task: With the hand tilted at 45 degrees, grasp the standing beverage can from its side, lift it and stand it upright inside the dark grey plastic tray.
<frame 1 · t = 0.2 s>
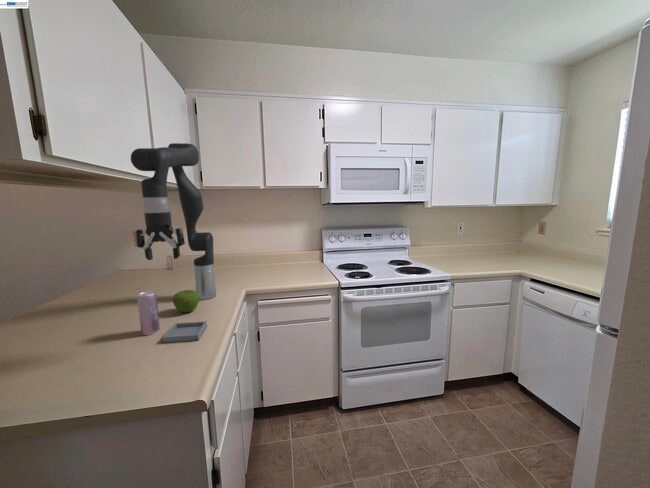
hand: (163, 259, 95), 29 cm above the counter, tool pointing down, fingers open, 8 cm apart
apple: (187, 312, 124), on the counter
tray: (186, 334, 103), on the counter
beverage can: (150, 332, 105), on the counter
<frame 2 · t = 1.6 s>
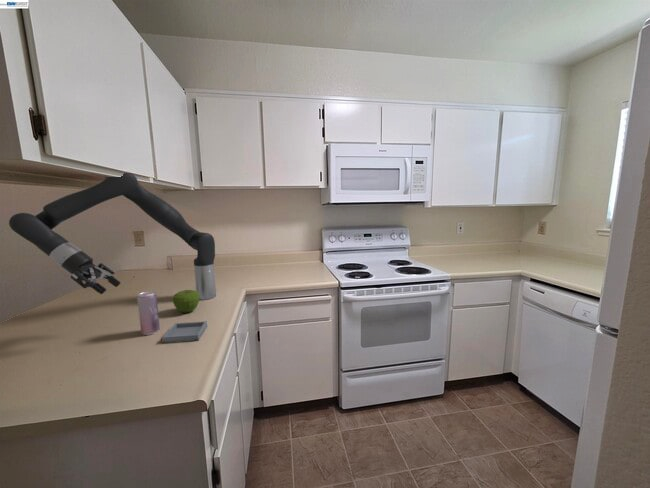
hand: (111, 288, 101), 18 cm above the counter, tool tilted 45°, fingers open, 8 cm apart
nothing on the counter moved.
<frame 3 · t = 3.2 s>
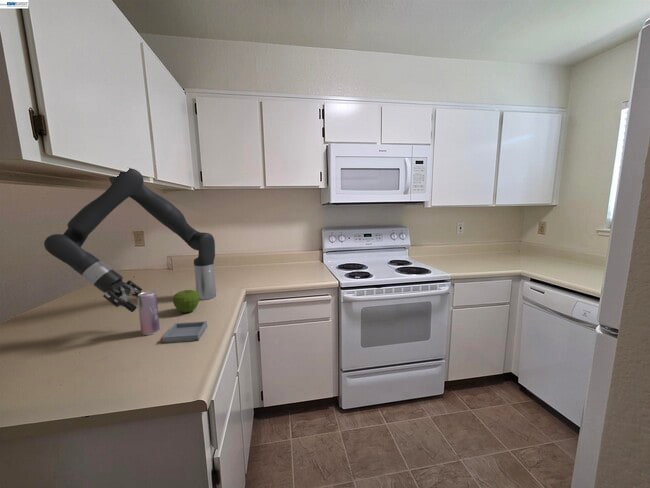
hand: (140, 305, 103), 10 cm above the counter, tool tilted 45°, fingers open, 8 cm apart
nothing on the counter moved.
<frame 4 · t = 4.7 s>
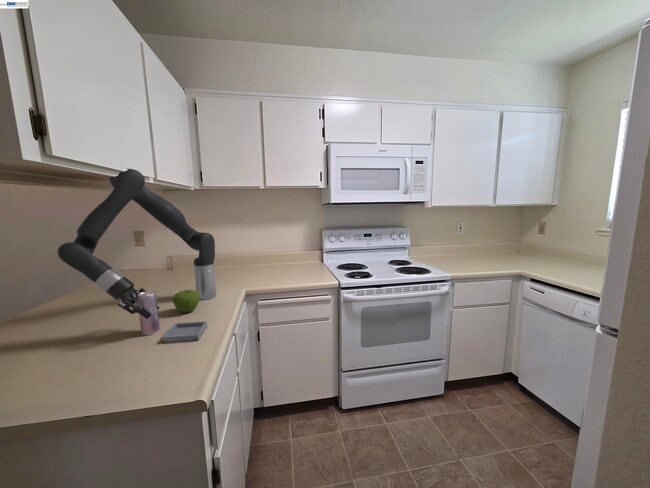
hand: (153, 313, 104), 7 cm above the counter, tool tilted 45°, fingers closed on beverage can, 6 cm apart
beverage can: (150, 332, 105), on the counter, touching gripper
everything else where it was.
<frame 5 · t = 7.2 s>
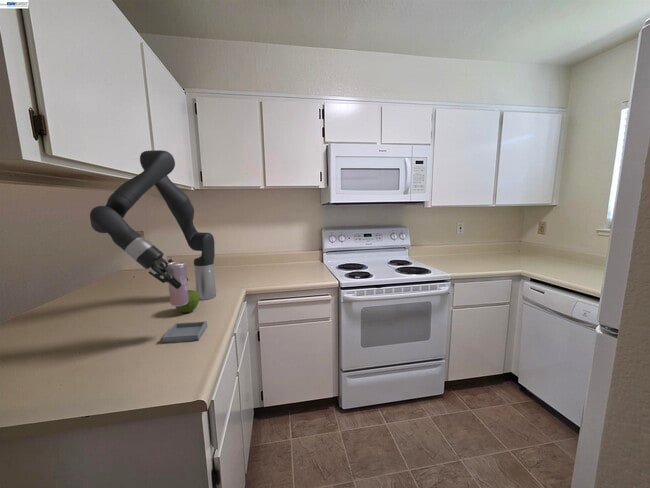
hand: (183, 284, 100), 19 cm above the counter, tool tilted 45°, fingers closed on beverage can, 6 cm apart
beverage can: (179, 304, 101), point 11 cm above the counter, touching gripper
everything else where it was.
when the fingers open (9 cm above the counter, at t = 9.7 s): beverage can drops 1 cm, resting on tray.
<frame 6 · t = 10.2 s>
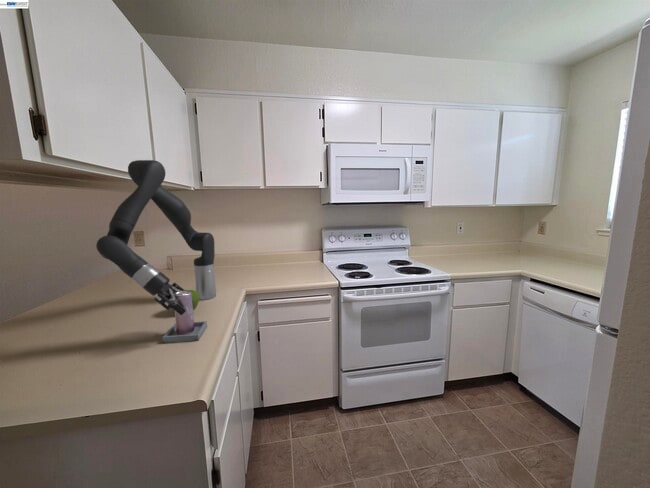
hand: (188, 308, 102), 10 cm above the counter, tool tilted 45°, fingers open, 8 cm apart
beverage can: (185, 332, 103), resting on tray
everything else where it was.
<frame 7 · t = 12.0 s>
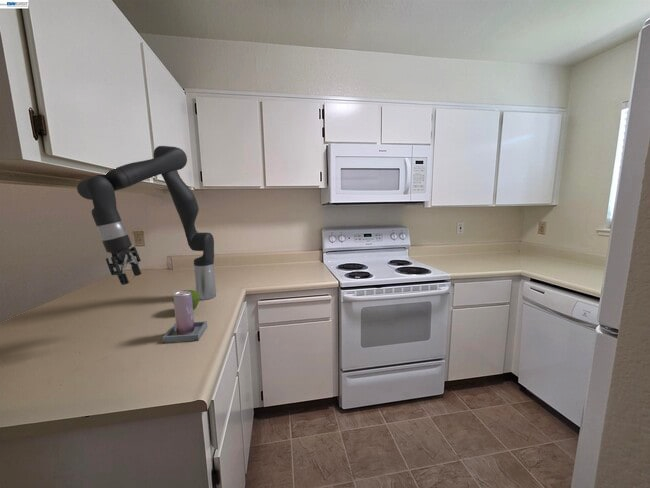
hand: (132, 279, 100), 21 cm above the counter, tool pointing down, fingers open, 8 cm apart
nothing on the counter moved.
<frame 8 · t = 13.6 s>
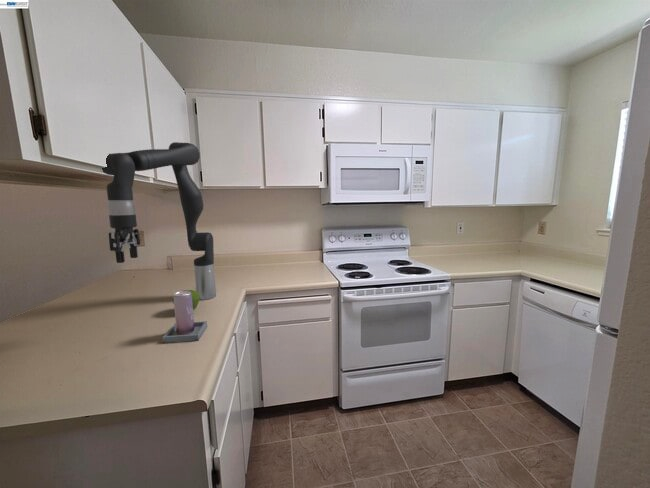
hand: (127, 260, 98), 28 cm above the counter, tool pointing down, fingers open, 8 cm apart
nothing on the counter moved.
at the end: beverage can inside the target area on the tray (0.4 cm from its centre), point 0.4 cm above the tray's base; beverage can tilted 0°; the gripper is holding nothing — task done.
